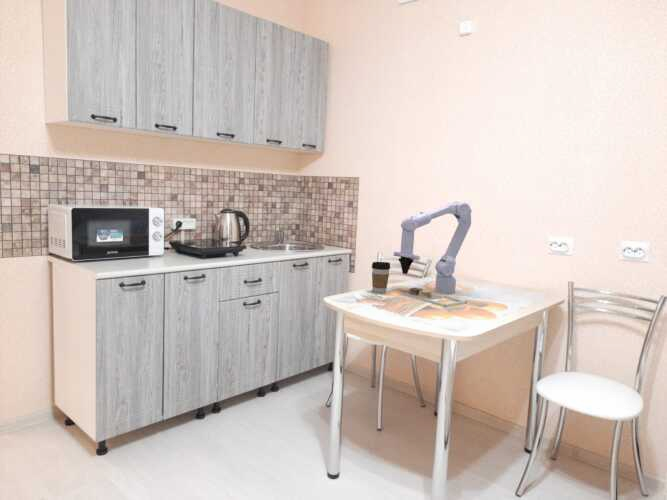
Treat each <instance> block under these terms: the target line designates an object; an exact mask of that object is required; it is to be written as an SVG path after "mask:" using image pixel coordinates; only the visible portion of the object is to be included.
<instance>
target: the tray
mask: <svg viewBox="0 0 667 500" xmlns="http://www.w3.org/2000/svg"><path fill="white" fill-rule="evenodd" d="M442 297H443V298H442V299H446V300H450V301H454V302H450V303H446V304H445V303H441V302H439V301H435V300H433V299H432V300H428V299H425V298H423V301H422V302H426V303H429V304H432V305H436V306H439V307H443V308H448V307H454V306H458V305H459V306H460V305H465V304H467V301H466V300H464V299H460V298H455V297H451V296H447V295H446V294H443V295H442Z"/></svg>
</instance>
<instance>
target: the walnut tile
mask: <svg viewBox="0 0 667 500" xmlns="http://www.w3.org/2000/svg"><path fill="white" fill-rule="evenodd" d="M421 290H423V288H419V287H410V288H409V292H410V294H413V295H419V291H421Z"/></svg>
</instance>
